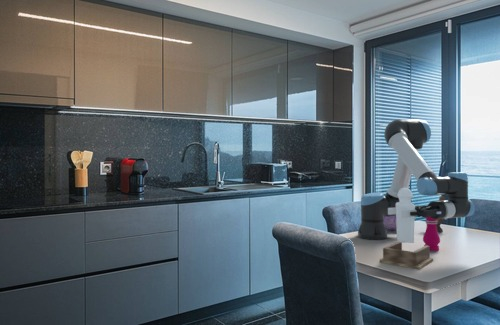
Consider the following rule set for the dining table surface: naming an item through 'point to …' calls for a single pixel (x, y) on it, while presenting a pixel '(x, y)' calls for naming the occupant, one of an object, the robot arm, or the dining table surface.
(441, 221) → the mortar and pestle
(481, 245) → the dining table surface
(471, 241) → the dining table surface
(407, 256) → the walnut holder
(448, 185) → the robot arm
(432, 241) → the pepper mill
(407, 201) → the white plastic bottle
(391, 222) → the bowl of food
